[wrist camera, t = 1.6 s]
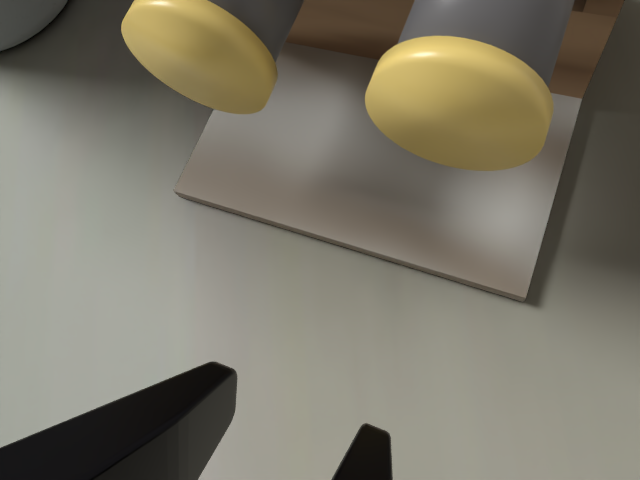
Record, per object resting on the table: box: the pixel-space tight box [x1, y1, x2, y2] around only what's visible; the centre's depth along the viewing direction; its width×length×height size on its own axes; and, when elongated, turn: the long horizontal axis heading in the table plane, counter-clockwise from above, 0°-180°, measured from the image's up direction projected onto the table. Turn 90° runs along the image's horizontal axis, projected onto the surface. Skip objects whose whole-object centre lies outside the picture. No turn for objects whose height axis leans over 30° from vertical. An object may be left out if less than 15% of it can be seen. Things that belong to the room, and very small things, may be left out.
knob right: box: [365, 0, 575, 171], centre depth 15 cm, size 8×5×5 cm, turn 158°
